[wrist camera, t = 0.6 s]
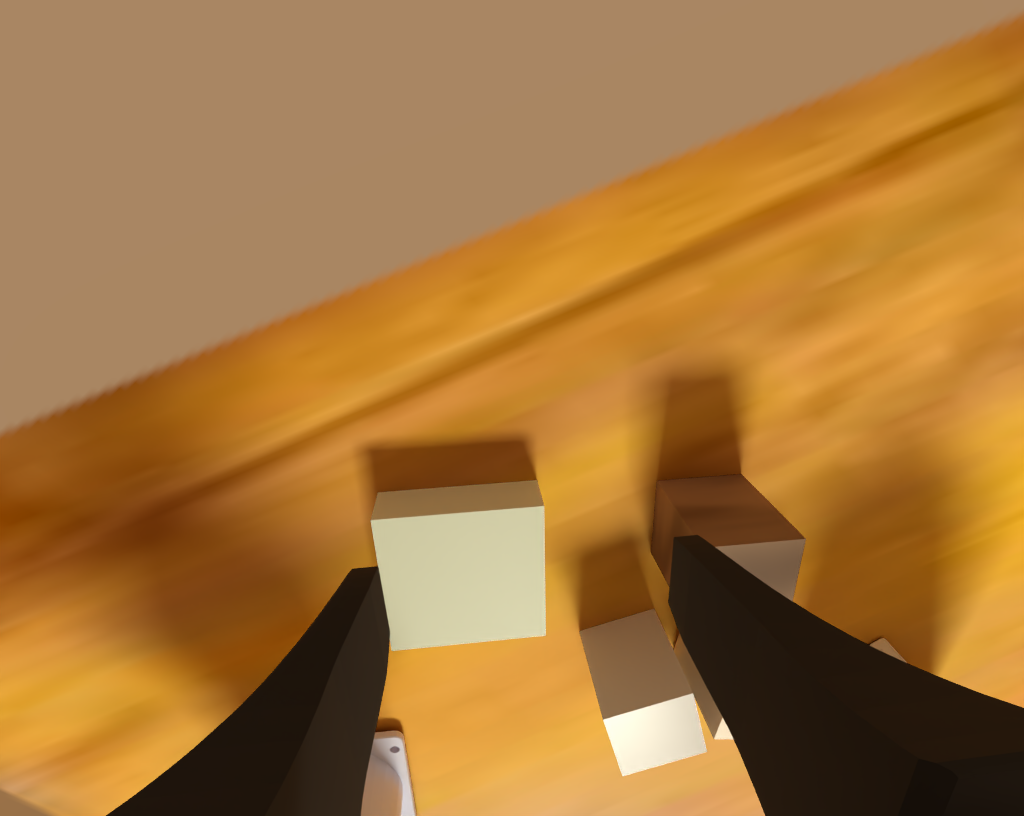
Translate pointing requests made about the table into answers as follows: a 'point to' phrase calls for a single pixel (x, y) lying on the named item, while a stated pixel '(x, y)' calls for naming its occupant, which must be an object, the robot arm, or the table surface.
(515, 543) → the sage slab
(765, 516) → the walnut block
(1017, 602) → the table surface
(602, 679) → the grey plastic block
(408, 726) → the table surface
